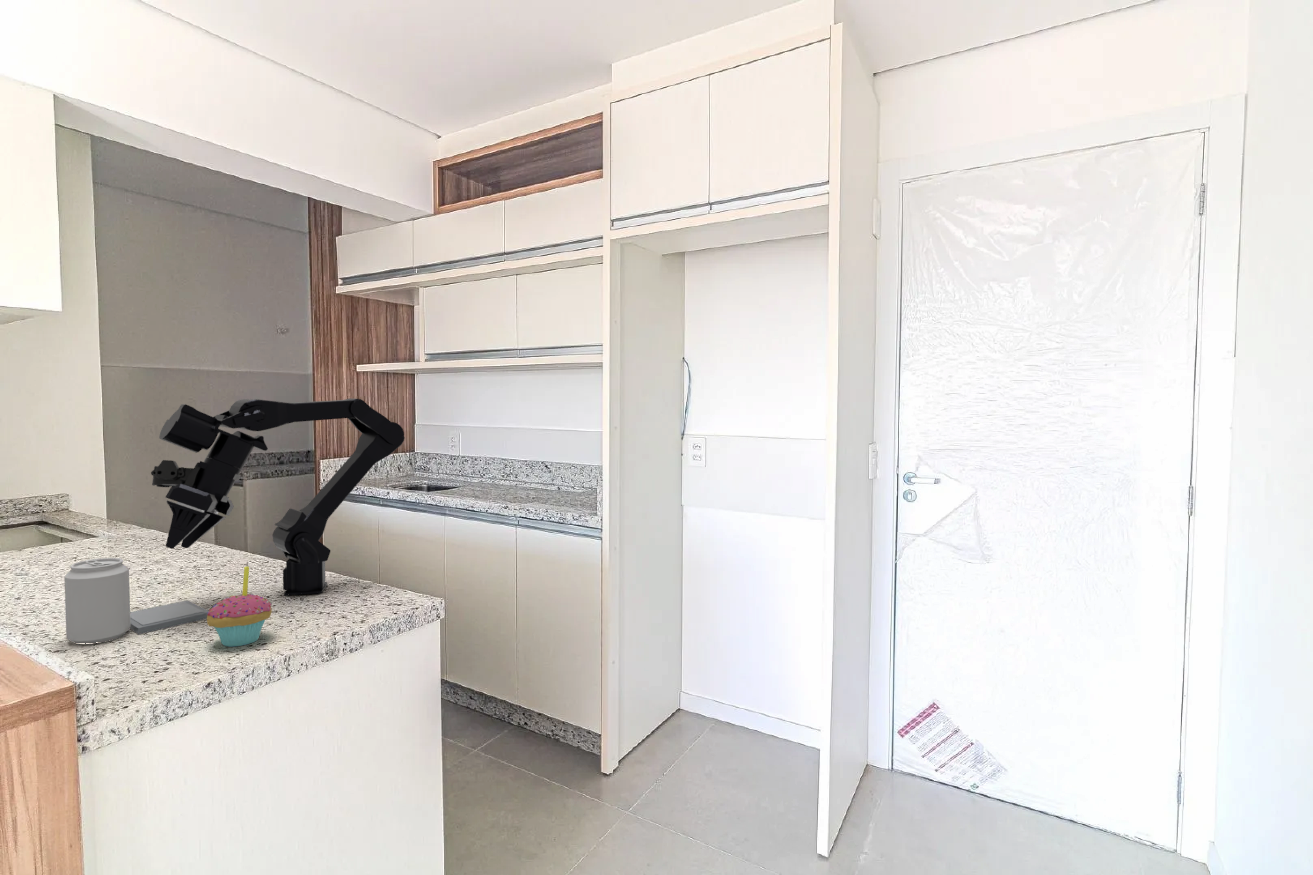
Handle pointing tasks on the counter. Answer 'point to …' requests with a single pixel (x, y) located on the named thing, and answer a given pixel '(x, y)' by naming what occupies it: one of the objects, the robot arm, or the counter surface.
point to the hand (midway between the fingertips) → (176, 547)
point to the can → (97, 600)
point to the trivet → (166, 616)
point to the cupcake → (239, 616)
